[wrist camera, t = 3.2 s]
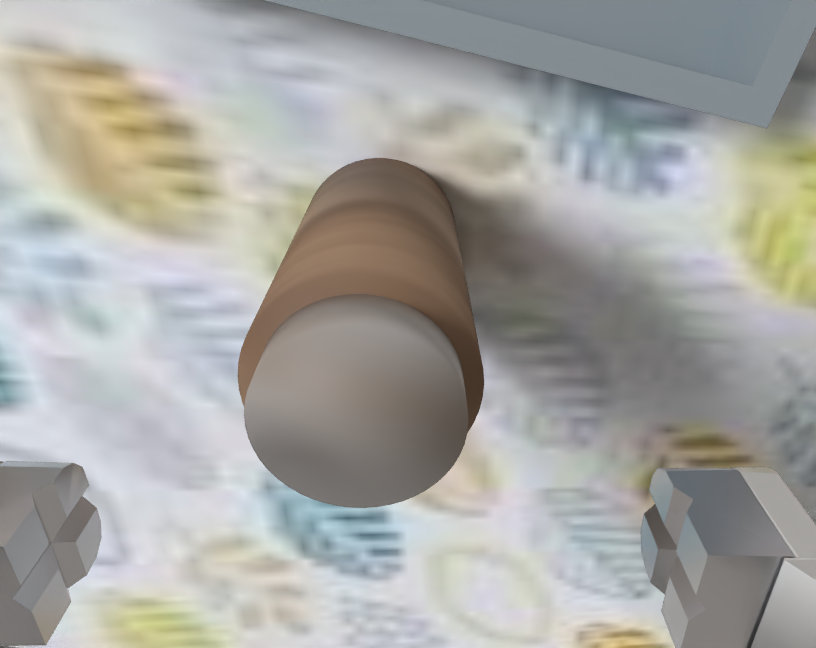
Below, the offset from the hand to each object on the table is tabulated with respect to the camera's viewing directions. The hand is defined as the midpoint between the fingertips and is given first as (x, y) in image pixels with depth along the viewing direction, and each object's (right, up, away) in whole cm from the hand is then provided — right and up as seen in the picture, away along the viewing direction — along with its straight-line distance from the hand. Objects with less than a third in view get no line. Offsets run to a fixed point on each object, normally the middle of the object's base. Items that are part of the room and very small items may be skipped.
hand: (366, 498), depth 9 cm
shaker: (0, +5, +11) cm, 13 cm away
